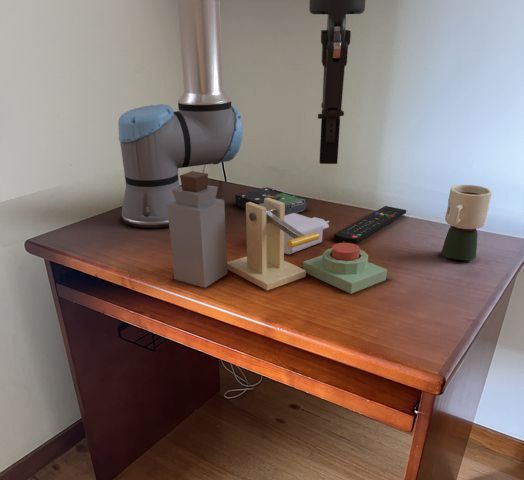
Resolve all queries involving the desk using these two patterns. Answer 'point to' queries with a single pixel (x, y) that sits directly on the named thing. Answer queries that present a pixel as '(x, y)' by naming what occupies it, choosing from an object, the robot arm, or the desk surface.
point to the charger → (304, 230)
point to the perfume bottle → (197, 231)
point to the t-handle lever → (287, 228)
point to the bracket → (265, 250)
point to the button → (345, 251)
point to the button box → (345, 271)
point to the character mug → (465, 220)
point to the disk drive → (257, 197)
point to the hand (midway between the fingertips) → (328, 162)
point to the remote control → (368, 225)
